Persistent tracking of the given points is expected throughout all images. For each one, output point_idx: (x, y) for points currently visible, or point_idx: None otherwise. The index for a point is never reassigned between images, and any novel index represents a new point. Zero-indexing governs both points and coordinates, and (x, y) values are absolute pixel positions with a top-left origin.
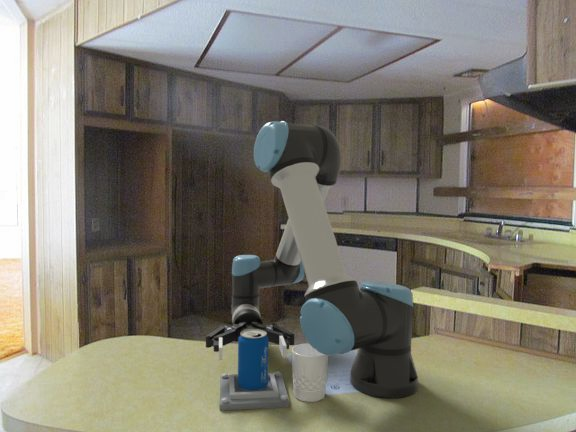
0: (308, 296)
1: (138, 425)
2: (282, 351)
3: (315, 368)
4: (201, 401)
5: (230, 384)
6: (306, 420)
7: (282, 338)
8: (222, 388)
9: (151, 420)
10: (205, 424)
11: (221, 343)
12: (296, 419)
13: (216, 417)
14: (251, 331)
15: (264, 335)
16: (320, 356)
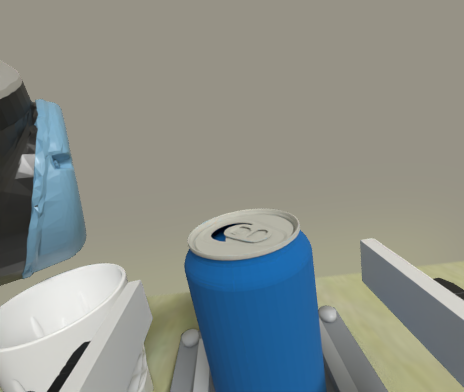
0: (24, 95)
1: (455, 266)
2: (143, 312)
3: (95, 295)
4: (411, 351)
5: (346, 373)
6: (170, 307)
7: (93, 346)
8: (377, 388)
9: (449, 278)
10: (338, 281)
11: (393, 261)
12: (185, 308)
13: (329, 298)
14: (253, 247)
15: (202, 223)
16: (71, 271)
